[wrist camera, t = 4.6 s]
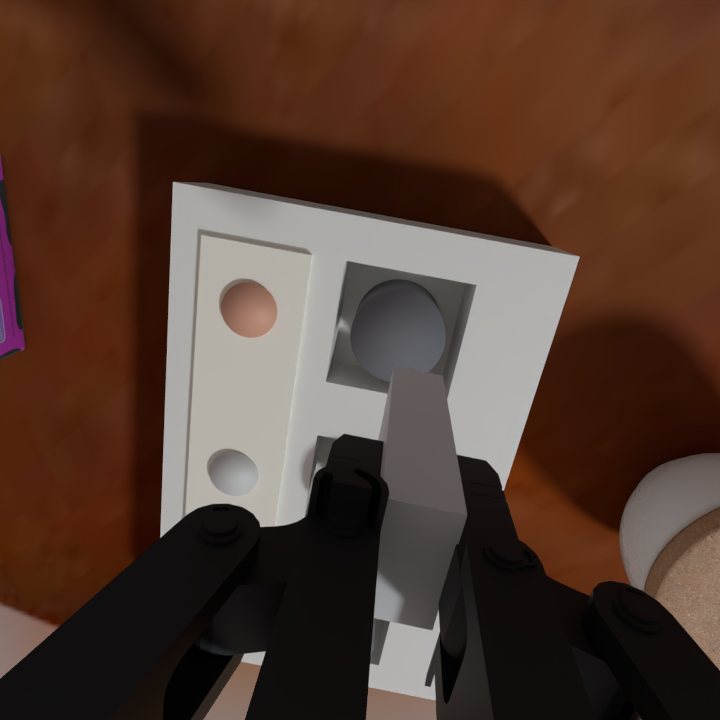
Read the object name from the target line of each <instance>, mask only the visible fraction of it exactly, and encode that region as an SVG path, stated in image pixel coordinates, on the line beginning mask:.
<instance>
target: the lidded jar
mask: <svg viewBox="0 0 720 720" xmlns="http://www.w3.org/2000/svg"><path fill="white" fill-rule="evenodd" d="M619 540H620V552H621V556H622V560H623V564H624V568H625V571H626V574H627V577H628V580H629V582H630V585H631V586H632V587H635V588H637V589H640V590H642V591H643V592H645V593H646V594H648V595H650V596H651V597H653V598H654V599H656V600H657V601H659V602H660V603H661V604H662V605H663V606H664V607H665V608H666V609H667V610H668V611H669V612H670V613H671V614H672V615H673V616H674V617H675V618H676V620H677V621H678V622H679V623H680V624H681V625H682V627H683V628H684V629H685V630H686V631H687V633H688V634H689V635H690V636H691V637H692V638H693V640H694V641H695V642H696V643H697V644H698V645H699V647H700V648H701V649H702V650H703V651H704V652H705V654H706V655H707V656H708V657H709V658H710V659H711V661H712V662H713V663H714V664H715V665H716V666H717V668H718V669H719V670H720V453H704V454H698V455H691V456H688V457H684V458H678V459H675V460H671V461H668V462H666V463H664V464H661V465H660V466H658V467H656V468H654V469H653V470H652V471H650V472H649V473H648V474H647V475H646V476H645V477H644V478H643V479H642V480H641V481H640V482H639V484H638V485H637V487H636V489H635V490H634V492H633V493H632V494H631V496H630V497H629V499H628V501H627V503H626V505H625V508H624V511H623V515H622V518H621V522H620V531H619Z"/></svg>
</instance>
